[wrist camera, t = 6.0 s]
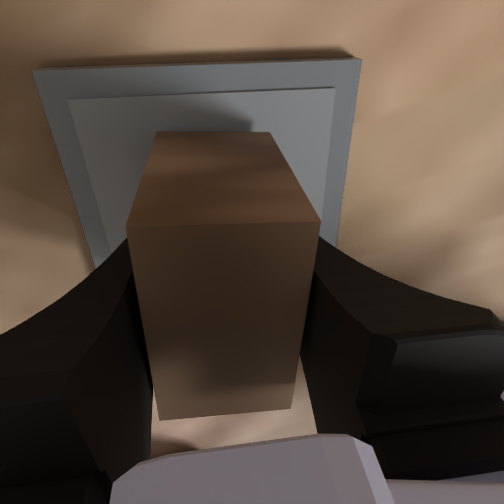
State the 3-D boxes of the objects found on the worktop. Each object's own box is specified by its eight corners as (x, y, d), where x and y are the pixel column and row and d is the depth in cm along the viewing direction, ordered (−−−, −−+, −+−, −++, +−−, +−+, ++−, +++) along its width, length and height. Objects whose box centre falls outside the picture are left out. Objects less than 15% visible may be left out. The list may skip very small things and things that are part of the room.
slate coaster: (325, 288, 18) (329, 297, 17) (114, 308, 17) (111, 319, 16) (355, 56, 12) (363, 60, 11) (38, 67, 11) (29, 71, 11)
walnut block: (271, 131, 12) (324, 221, 7) (261, 277, 15) (292, 408, 10) (154, 131, 11) (122, 226, 6) (171, 281, 15) (157, 420, 10)
